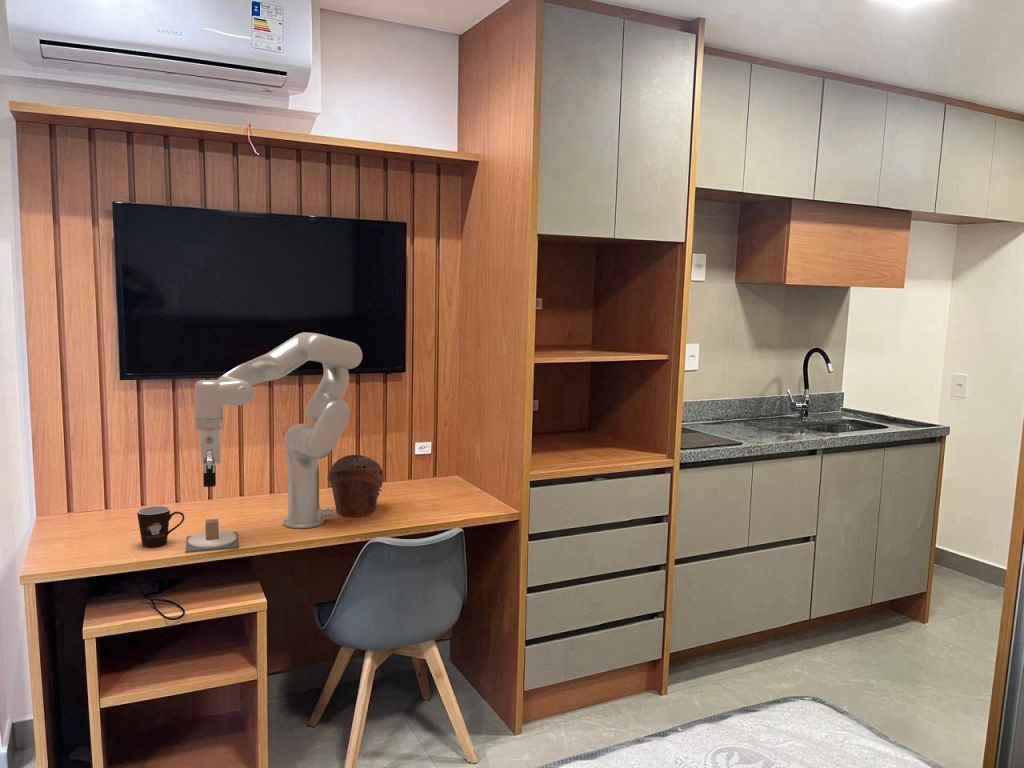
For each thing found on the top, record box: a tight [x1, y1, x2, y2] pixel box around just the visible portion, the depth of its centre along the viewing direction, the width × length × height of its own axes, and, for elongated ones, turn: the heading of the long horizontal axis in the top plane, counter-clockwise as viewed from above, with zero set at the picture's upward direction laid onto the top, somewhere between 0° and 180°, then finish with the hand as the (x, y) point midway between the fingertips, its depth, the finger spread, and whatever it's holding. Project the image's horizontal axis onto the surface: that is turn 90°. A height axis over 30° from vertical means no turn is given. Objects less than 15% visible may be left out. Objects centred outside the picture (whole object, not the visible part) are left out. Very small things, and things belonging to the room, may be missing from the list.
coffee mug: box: [136, 505, 185, 549], centre depth 221 cm, size 12×9×10 cm
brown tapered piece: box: [327, 454, 384, 518], centre depth 257 cm, size 18×20×18 cm
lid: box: [188, 518, 236, 548], centre depth 223 cm, size 13×13×6 cm
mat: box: [185, 531, 240, 554], centre depth 224 cm, size 14×14×1 cm
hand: (209, 482), depth 221 cm, fingers open, 9 cm apart
